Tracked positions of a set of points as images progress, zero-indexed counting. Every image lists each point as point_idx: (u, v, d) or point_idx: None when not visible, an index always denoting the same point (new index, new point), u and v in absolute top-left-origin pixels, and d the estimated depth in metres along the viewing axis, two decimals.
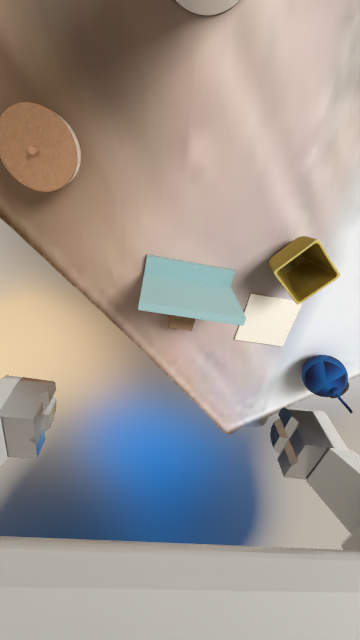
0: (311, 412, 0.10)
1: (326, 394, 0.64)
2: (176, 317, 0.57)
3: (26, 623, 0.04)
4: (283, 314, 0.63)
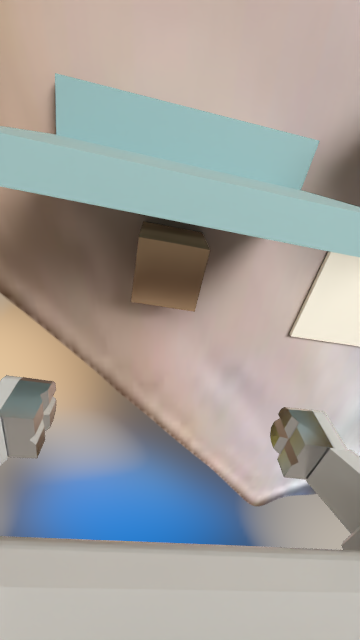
0: (311, 412, 0.10)
1: None
2: (151, 272, 0.20)
3: (26, 623, 0.04)
4: None
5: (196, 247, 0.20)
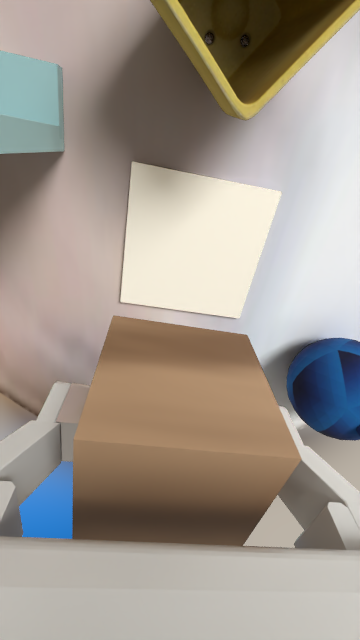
0: None
1: (347, 437, 0.25)
2: (122, 503, 0.07)
3: (26, 623, 0.04)
4: (232, 229, 0.24)
5: (259, 452, 0.06)
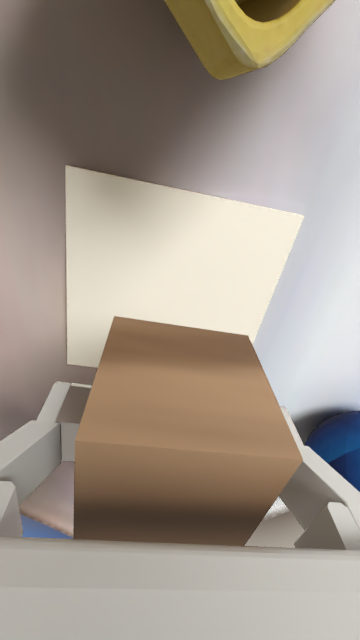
0: None
1: None
2: (124, 504, 0.07)
3: (26, 623, 0.04)
4: (227, 269, 0.16)
5: (261, 453, 0.06)
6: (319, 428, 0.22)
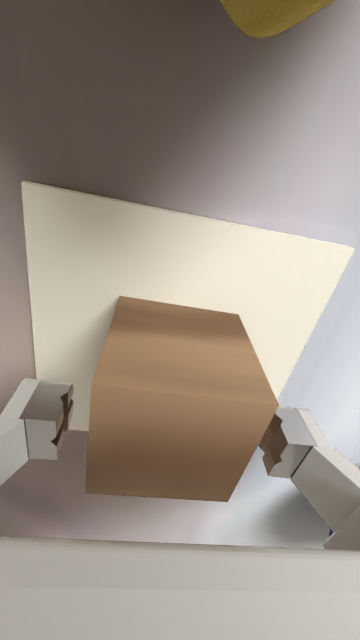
0: (297, 410, 0.10)
1: None
2: (130, 447, 0.08)
3: (26, 623, 0.04)
4: (247, 316, 0.12)
5: (244, 399, 0.08)
6: None
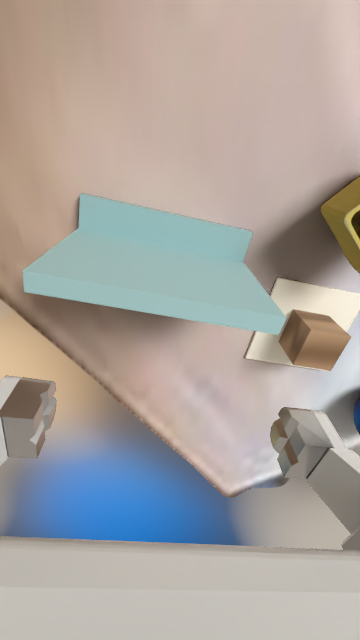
0: (311, 412, 0.10)
1: None
2: (312, 348, 0.32)
3: (26, 623, 0.04)
4: (331, 316, 0.36)
5: (343, 335, 0.32)
6: None
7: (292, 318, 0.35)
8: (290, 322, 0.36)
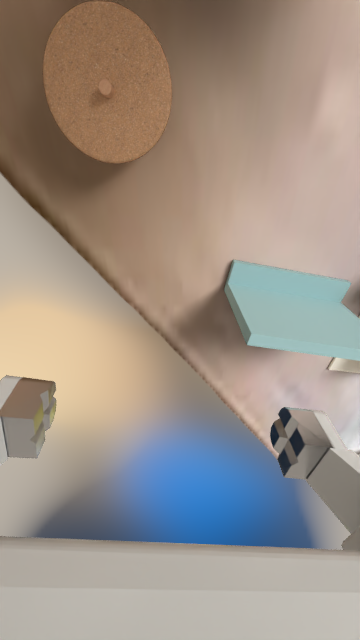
0: (311, 412, 0.10)
1: None
2: None
3: (26, 623, 0.04)
4: None
5: None
6: None
7: None
8: None
